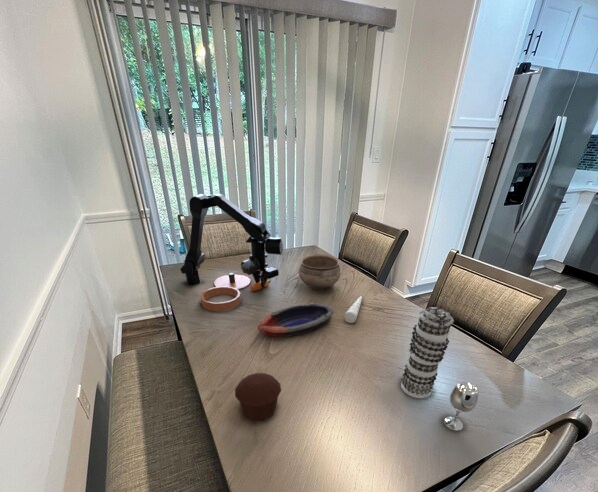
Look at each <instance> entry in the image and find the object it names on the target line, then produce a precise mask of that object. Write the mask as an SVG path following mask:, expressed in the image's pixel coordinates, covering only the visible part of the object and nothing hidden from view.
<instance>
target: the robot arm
mask: <svg viewBox="0 0 598 492" xmlns="http://www.w3.org/2000/svg"><path fill="white" fill-rule="evenodd" d="M188 203H189V212H190V215H191V227H190V228H191V229H190V239H189V248H188V251H187V253H186V255H185V258H184V261H183V262H184V264H183V265H182V267H181V268H180V272H181V274H182V275H183V274H185V279H186V280H185V281H183V283H185V284H186V285H188V286H196V285H198V284H200V283H203V282H204V281H203V280H201V278H200V274H199V270H198V269H200V268H201V265H202V264H203V263H205V255H206V254H205V252H202V250H201V249H202V241H203V240H202V239H203V231H204V224H205V223H204V222H205V217H206V215H207V214H208V211H209V208H212V207H218V208H219V209H220V210H221V211H222V212H224V213H225V214H227V215H228V216H229V217H231V218H232V219H233V220H235V222H237V223H238V224H240V226H242V228H243V229H244V231H245V232H246V234H247V235H249V237H248V238H247V239H246V240H245V243H250V249H251V254H249V258H248V259H246V260H242V261H241V263H240V268H241V270H242V272H243V274H246V275H248V276H252V277H253V280H254V282H255V284H256V283H258V282H261V286H262V288H261V289H264V288H265V287H264V286H265V284H266V282H267V280H270V279H272V278H276V277H278V276H279V269H278V268H275V267H272V266H271V267H268V266H269V264H268V263H266V261H267V260H266V258H268V255H278V256H282V255H283V252H284V243H283V240H282V237H272V236H271V234H270V232H269V231H268V230H267V228H266V225H265V224H266V223H264V222H263V221H261V220H259V219H258V218H256V217H253V216H250V215H248V214H247V213H246V212H245V211H243V210H242V209H240V208H239V207H238V206H237V205H235V203H233V202H232V201H230V200H229V199H228V198H226V196H225V195H224V194H222V193H218V194H208V195H206V194H204V193H199V194H197V195H194V196H193V197H191V198H190V199H189V202H188ZM263 287H264V288H263Z"/></svg>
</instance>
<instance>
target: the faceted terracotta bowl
mask: <svg viewBox="0 0 598 492" xmlns="http://www.w3.org/2000/svg"><path fill="white" fill-rule="evenodd" d="M219 295H229V296H232V297H233V296H234V298H233V299H231V300H227V301H223V302H222V301H221V302H215V301H209V300H208V299H209V298H211V297H215V296H219ZM241 301H242V295H241V292H240V289H239V290H238V289H236V288H233V287H227V286H220V287H215V286H214V287H210V288H208V289H205V290H204V291H203V292H201V295H200V302H201V306H202V307H203V309H206V311H207V310H208V311H212V312H224V311H225V312H226V311H229V310H232V309H235V308H236V307H238V306H239V305H240V304H241V303H242V302H241Z"/></svg>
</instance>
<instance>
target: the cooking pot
mask: <svg viewBox="0 0 598 492" xmlns="http://www.w3.org/2000/svg"><path fill="white" fill-rule="evenodd" d="M340 264H341V261H340V259H339V258H338V257H336V256H333V255H330V254H322V253H321V254H320V253H315V254H309V255H305V256H303V257H301V259H300V265H299V268H298V277H299V279H300V280H301V282H303V283H304V284H305V285H306V286H308V287H310V288H313V289H315V290H324V289H327V288H329V287H332V286H334V285H335V284H337V282H338V281H339V280H340V278H341V276H342V275H341V267H340Z"/></svg>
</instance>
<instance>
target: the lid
mask: <svg viewBox="0 0 598 492" xmlns="http://www.w3.org/2000/svg"><path fill="white" fill-rule="evenodd" d="M251 283H252V282H251V279H250V277H248V276H247V275H243V274H235V272H229V273H228V274H227V275H222V276H220V277H218V278H216V279H215V280H214V281H213V286H214V287H220V286H227V287H233V288H236V289H238V290H239V291H240V290H242V289H245V288H246V287H249V285H251Z"/></svg>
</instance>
